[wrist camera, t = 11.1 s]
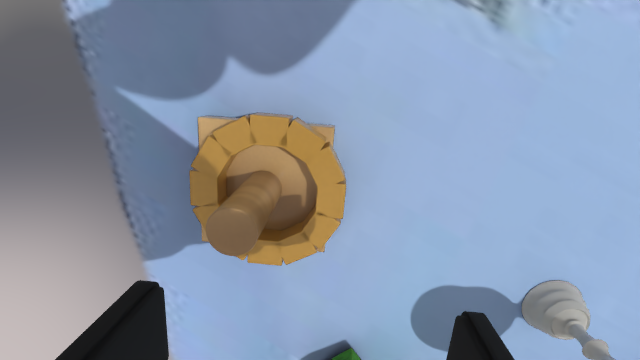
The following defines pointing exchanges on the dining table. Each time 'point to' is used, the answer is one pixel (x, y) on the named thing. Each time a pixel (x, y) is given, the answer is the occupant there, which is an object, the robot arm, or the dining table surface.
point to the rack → (259, 192)
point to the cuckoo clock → (347, 355)
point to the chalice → (563, 316)
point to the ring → (303, 144)
